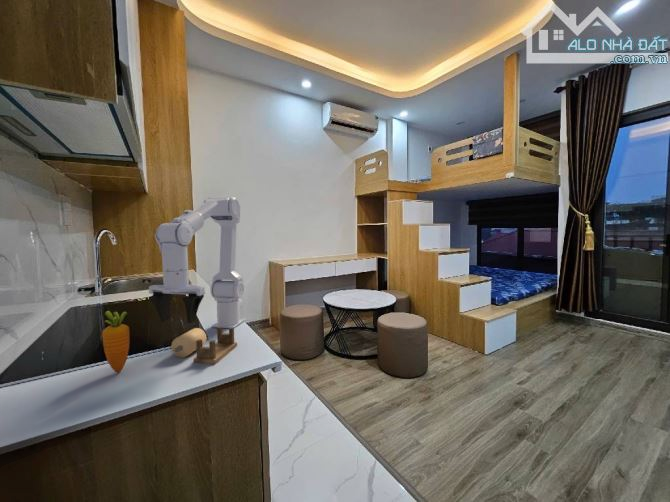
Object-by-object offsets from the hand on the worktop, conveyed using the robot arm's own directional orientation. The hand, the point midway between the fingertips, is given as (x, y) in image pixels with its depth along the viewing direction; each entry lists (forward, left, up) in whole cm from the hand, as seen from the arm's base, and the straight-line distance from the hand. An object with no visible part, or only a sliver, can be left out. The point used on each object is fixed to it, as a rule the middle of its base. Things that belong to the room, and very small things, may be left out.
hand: (178, 321), depth 74 cm
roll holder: (-3, +9, -10) cm, 13 cm away
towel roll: (-3, +1, -7) cm, 8 cm away
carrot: (+10, -8, -10) cm, 16 cm away
